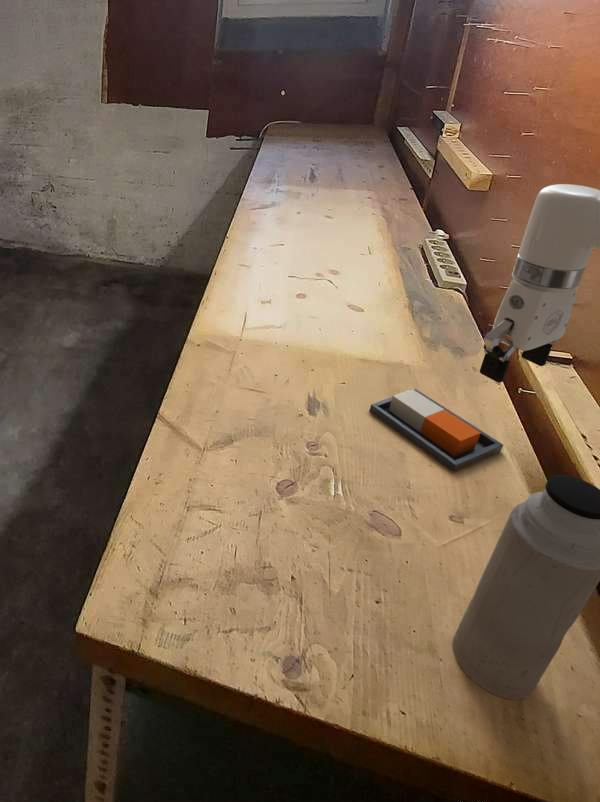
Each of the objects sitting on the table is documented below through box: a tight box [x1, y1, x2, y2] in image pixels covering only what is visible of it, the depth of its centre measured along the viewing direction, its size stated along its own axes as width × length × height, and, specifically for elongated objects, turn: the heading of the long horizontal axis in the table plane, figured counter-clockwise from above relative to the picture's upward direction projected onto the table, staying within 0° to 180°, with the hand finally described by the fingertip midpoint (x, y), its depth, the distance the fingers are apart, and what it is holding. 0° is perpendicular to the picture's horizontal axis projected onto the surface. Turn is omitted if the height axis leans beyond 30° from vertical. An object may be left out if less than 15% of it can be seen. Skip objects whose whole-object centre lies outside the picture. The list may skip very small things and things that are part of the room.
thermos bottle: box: [451, 474, 600, 701], centre depth 60 cm, size 8×8×28 cm
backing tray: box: [369, 388, 504, 473], centre depth 101 cm, size 12×17×2 cm
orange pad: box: [420, 410, 481, 457], centre depth 98 cm, size 5×6×4 cm
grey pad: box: [389, 388, 444, 432], centre depth 103 cm, size 5×6×4 cm
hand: (511, 369), depth 88 cm, fingers open, 9 cm apart
